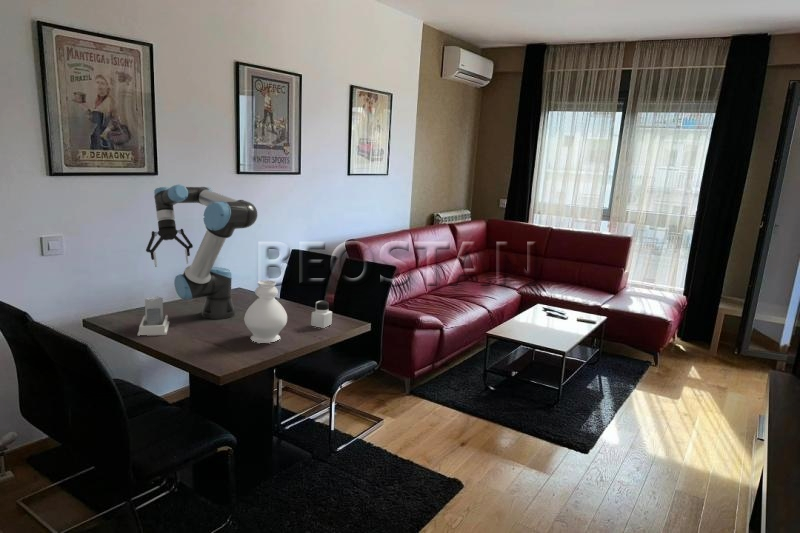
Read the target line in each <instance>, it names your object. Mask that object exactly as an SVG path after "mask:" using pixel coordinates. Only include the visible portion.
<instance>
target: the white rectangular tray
mask: <svg viewBox="0 0 800 533" xmlns="http://www.w3.org/2000/svg"><path fill="white" fill-rule="evenodd" d="M168 316H169V315H168V314H165V316H164V318H163V324H161V325H156V326H147V325H146V320H145V315H143V317H142V319H141V321H140V324H139V326H138V332H137V336H138V337H139V336H140V335H147V336H167V334H168V330H169V327H170V321H168V320H169V317H168Z"/></svg>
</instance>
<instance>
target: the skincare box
mask: <svg viewBox="0 0 800 533" xmlns="http://www.w3.org/2000/svg"><path fill="white" fill-rule="evenodd" d="M144 309H145V313H144V314H145V320H146V325H147V309H161V324H163V319H164V299H163V297H160V296H157V295H156V296H153V297H147V298H144Z"/></svg>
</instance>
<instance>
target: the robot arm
mask: <svg viewBox="0 0 800 533" xmlns="http://www.w3.org/2000/svg"><path fill="white" fill-rule="evenodd" d="M153 194H154V197H153V198H154V203H155V209H156V210H155V211H156V218H157V221H158V222H157V227H158V228H157V229H158V231H153V230H152V231H151V237H150V239H149V242H148V244H147V247H146V249H145V252H146V253H150V258H151V260H152V261H153V262H154V267H155V268H157V267H158V263H157V255H156V254H157V253H156V250H157V248H159V246H160V244H161V243H162V242H163V241H173V240H175V241H177V243H179V244H180V245H181V246H182V247H184V252H185V253H184V254H185V262H186V264H189V258H188V257H190V255H191V253H190V249H192V248H194V245H193V244H192V242H191V241H190V240H189V238H188V237H187V235H186V234H185V230H184V229H183V228H181V229H178V230H177V226H176V225H177V224H176V220H175V217H176V216H175V211H174V205H176V204H177V205H178V204H192V203H193V204H200V205H202V206H203V205H204V206H206V207H205V209H204V212H203V223H204V225H205V228H206V229H205V230H206V231H205V234H204V235H203V238H202V240H201V242H200V245H199V247H198V250H197V251H196V254H195V256H194V258H193V259H192V262H191V265H188V266H186V267H185V269H184V271H183V273H181V274H177V275H175V278H174V289H175V292H176V294H177V296H178V297H179V298H180V299H182V300H193V299H198V298H203V297H205V301H204V304H203V306H202V308H201V316H202V317H203V318H206V319H213V320H221V319H230V318H232V317H234V316H235V314H236V309H235V306H234V304H233V300H232V280H233V278H232V271H231V270H230V269H229V268H226V267H219V266H214V265H215V263H216V261H217V259H218V257H219V254H220V253H221V250H222V248H223V246H224V244H225V241H226V240H227V239H229V238H230V237H232V236H233V234H234V231H235V230H237V229H247V228H249V227H252V226H253V225H254V224H255V223H256V221H257V219H258V210H257V207H256V206H255V205H254V204H253V203H251V202H250V201H247V200H244V199H234V198H232V197H228V196H227V195H223V194H221V193H217V192H215V191H213V190H212V189H211V188H210V187H208V186H207V187H206V186H185V185H183V184H175V185H172V186H171V187H166V186H161V187H160V186H159V187H157V188H155V189H154V192H153ZM177 234H179V235H181V237H183V239H184V240H185V242H186V243H187V244H186V243H185V242H184V241H183V240H182V239H181V238H179V237H178V235H177ZM157 236H159V237H158V239H157V241H156V243H155V244H154V240H155V237H157ZM153 244H154V245H153ZM152 245H153V247H152ZM151 247H152V248H151Z"/></svg>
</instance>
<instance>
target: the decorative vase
mask: <svg viewBox="0 0 800 533" xmlns="http://www.w3.org/2000/svg"><path fill="white" fill-rule="evenodd" d="M257 285H258V287H256V288H255V290H254V293H255V295H256V297H258V298H256V299H255V301H254V302H253V303H252V304H250V306H249V307H248V308H247V310H246V312H245V313H244V318H243V319H244V320H243V321H244V324H245V326H246V327H247V330H249V332H250V333H251V334H252V335H251V336H250V339H251V340H252V341H251V340H250V341H251V342H253V341H254V342H253V343H255V342H257V343H256V344H260V343H269V344H271V343H270V342H275V341H277V340H279V339H280V340H281V336H280V335H279V334H280V332H282V330H283V329H284V328H285V326H286V325H287V322H288V314H287V311H286V310H285V308H284V306H283V305H282V304H281V303H280V302H279V301H278V300H277V299H276V298H275V297H276V296H277V295H279V290H278V288H277V287H276V285H277V282H276V281H275V280H270V279H269V280H266V279H265V280H258V281H257ZM280 340H279V341H280ZM275 343H276V342H275Z"/></svg>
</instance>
